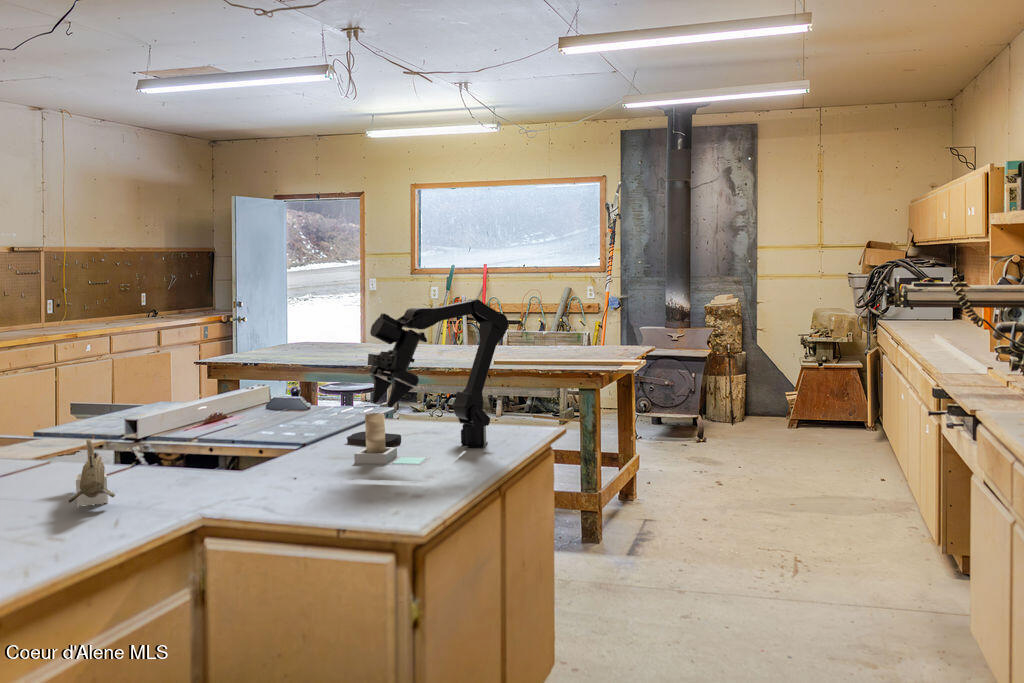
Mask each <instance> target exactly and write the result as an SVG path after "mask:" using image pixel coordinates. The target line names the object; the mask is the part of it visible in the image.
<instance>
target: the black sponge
mask: <svg viewBox="0 0 1024 683" xmlns="http://www.w3.org/2000/svg"><path fill="white" fill-rule="evenodd" d="M346 440H347V441H346V442H347V443H346V444H347V445H354V446H355V445H356V446H364V447H366V430H364V431H360V432H355V433H353V434H351V435H348V436H347V437H346ZM401 444H402V435H401V434H398V433H386V432H385V447H395V446H400V445H401Z"/></svg>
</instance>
